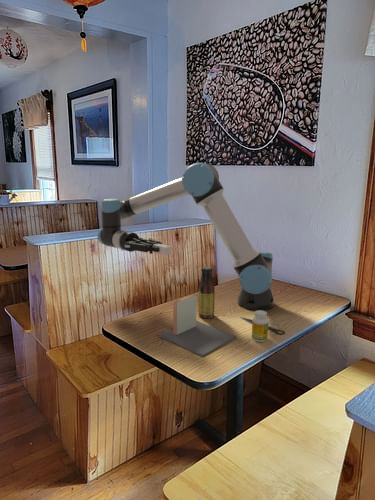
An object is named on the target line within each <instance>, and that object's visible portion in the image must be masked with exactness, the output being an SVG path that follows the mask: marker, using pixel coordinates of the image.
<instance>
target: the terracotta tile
mask: <svg viewBox="0 0 375 500" xmlns="http://www.w3.org/2000/svg"><path fill="white" fill-rule="evenodd" d="M172 303H173V307H172V308H173V310H172V311H173V315H172V316H173V320H172V321H173V322H172V323H173V325H172V327H173V328H172V329H173V334H175V335H178V334H180V333H182V332H185V331H187V330H189V329H191V328H193V327H195V326H196V321H197V294H194V293H192V294H190V295H187V296H184V297H181V298H177V299H175V300H173V302H172Z"/></svg>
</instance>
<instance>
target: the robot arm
mask: <svg viewBox="0 0 375 500" xmlns="http://www.w3.org/2000/svg"><path fill="white" fill-rule="evenodd" d="M219 177H220V176H219V172H218V170H217V169H216V167H215V166H213V165H212V164H210V163H206V162H195V163H193V164H191V165H189V166H188V167H187V168H186V169H185V170H184V172H183V175H182V177H180V178H177V179H175V180H171V181H169V182H167V183H165V184H161V185H159V186H157V187H155V188H152V189H149V190H147V191H144V192H142V193H139V194H137V195H135V196H132V197H129V198H126V199H124V200H121V201H120V199H118V198H105V199H102V200H101V208H100V209H101V225H102V226H101V228H100V229H99V230H98V232H97V240H98V242H99V243H100V244H102V245H104V246H106V247H110V248H111V247H112V248H115V249H119V250H121V251H127V252H131V253H132V252H135V251H137V252H140V253H141V252H142V253H148V252H149V254H150V255H151V254H154V253H157V254H159V255H165V256H167V255H171V254H172V253H171V252H172V251H171V249H172V247H171V245H167V244H163V242H162V241H158V240H155V239H152V237H151V238H148V239H147V238H143V237H140V236H139V235H138V234H137V233H136V232H132V231H129V230H128V231H127V230H124V229H123V230H122V222H121V221H123V220H124V219H128V218H131V217H133V216H135V215H138V214H140V213H143V212H147V211H148V210H151V209H154V208H156V207H159V206H161V205H166V204H168V203H170V202H172V201H175V200H178V199H182V198H183V197H186V196H188V195H190V196H191V197H192V199H193V201H194V202H195V204H196V205H197V206H200V207H202V208H203V209H204V211H205V213H206V214H207V216H208V218H209V220H210V221H211V223H212V225H213V227H214V228H215V230H216V231H217V234H218V235H219V237H220V238H221V240H222V243H223V244H224V246H225V247H226V249H227V251H228V252H229V254H230V256H231V258H232V259H233V265H232V267H233V269H234V271H235V272H236V274H237V275H238V280H239V284H240V287H241V289H240V291H239V294H238V296H237V304H238V305H239V306H240V307H242V308H244V309H248V310H252V311H253V310H254V311H258V310H262V311H266V310H270V309H271V308H273V307H274V305H275V300H274V296H273V291H272V288H271V284H272V282H273V272H272V271H273V253H272V252H270V251H265V250H256V249H254V247H253V245H252V243H251V241H249V238H248V237H247V235H246V234H245V232H244V230H243V228H242V226H241V224H240V222H239V221H238V219H237V218H236V216H235V215H234V212H233V210H232V209H231V208H230V205H229V204H228V202H227V200H226V199H225V197H224V195H223V193H224V191H225V190H224V187H223V185H222V183H221V182H220V178H219Z"/></svg>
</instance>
